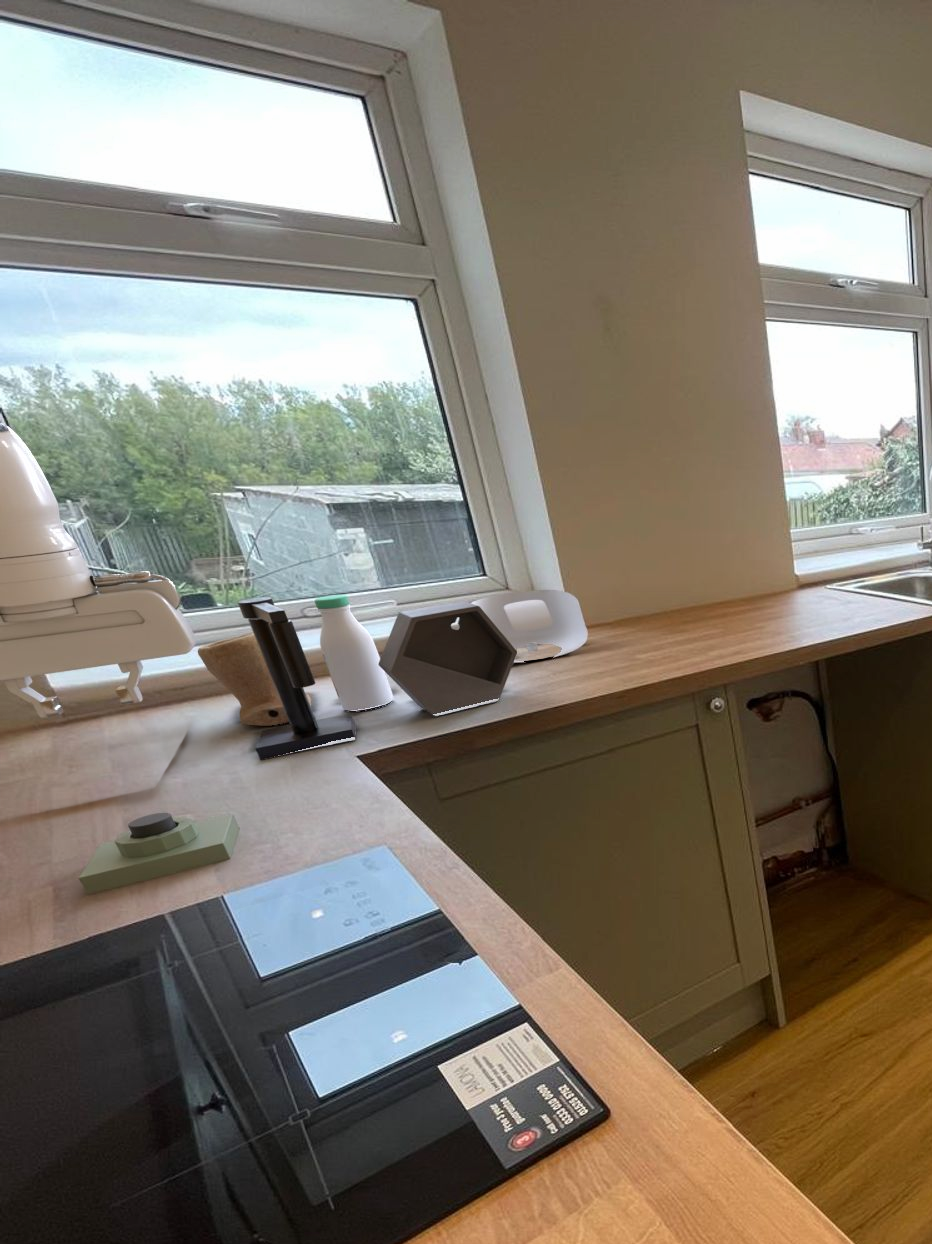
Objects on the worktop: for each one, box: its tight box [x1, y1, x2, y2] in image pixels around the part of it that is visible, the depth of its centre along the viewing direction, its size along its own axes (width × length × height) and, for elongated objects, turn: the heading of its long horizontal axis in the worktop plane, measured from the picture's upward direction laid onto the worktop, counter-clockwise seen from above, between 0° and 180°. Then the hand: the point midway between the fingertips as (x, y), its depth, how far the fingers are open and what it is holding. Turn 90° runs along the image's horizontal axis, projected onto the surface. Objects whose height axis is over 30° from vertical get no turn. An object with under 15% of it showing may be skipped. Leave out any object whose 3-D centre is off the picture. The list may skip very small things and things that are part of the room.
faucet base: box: [247, 618, 356, 761], centre depth 128 cm, size 12×10×20 cm
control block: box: [78, 813, 240, 895], centre depth 95 cm, size 12×10×4 cm
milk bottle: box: [314, 594, 394, 711], centre depth 144 cm, size 8×8×20 cm
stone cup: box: [197, 632, 312, 727], centre depth 141 cm, size 15×12×15 cm
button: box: [127, 812, 177, 839], centre depth 94 cm, size 4×4×2 cm
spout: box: [237, 596, 316, 689], centre depth 122 cm, size 15×4×12 cm, turn 51°
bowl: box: [471, 589, 589, 664], centre depth 177 cm, size 20×19×12 cm
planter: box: [378, 600, 517, 716], centre depth 143 cm, size 17×8×21 cm
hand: (93, 708), depth 89 cm, fingers open, 5 cm apart
